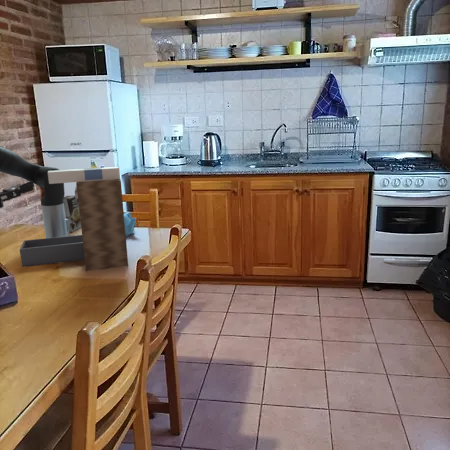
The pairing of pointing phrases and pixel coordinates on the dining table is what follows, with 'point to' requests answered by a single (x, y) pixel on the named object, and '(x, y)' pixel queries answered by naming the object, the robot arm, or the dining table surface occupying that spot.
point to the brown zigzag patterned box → (102, 223)
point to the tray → (52, 250)
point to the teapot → (129, 223)
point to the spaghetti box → (83, 175)
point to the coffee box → (72, 212)
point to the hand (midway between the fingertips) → (33, 185)
